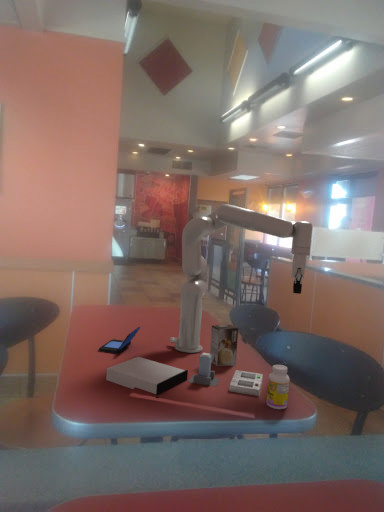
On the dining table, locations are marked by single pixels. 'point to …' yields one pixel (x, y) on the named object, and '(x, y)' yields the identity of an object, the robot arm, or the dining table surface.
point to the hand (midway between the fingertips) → (296, 291)
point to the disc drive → (146, 375)
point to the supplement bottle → (278, 387)
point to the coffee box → (224, 345)
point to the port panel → (246, 383)
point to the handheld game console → (118, 343)
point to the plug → (205, 364)
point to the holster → (204, 379)
